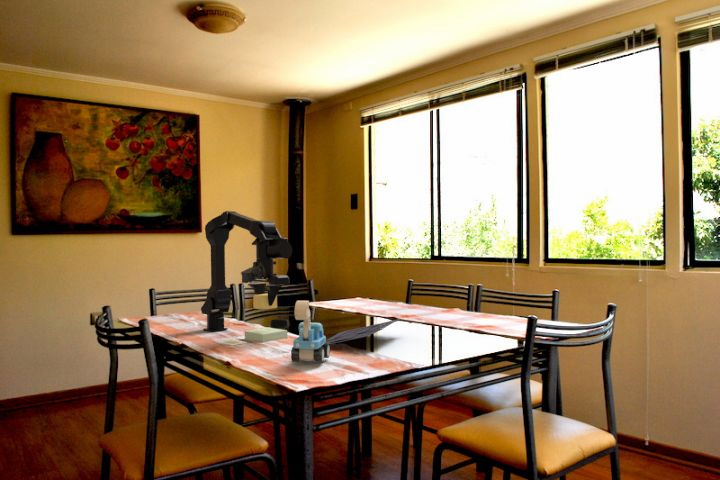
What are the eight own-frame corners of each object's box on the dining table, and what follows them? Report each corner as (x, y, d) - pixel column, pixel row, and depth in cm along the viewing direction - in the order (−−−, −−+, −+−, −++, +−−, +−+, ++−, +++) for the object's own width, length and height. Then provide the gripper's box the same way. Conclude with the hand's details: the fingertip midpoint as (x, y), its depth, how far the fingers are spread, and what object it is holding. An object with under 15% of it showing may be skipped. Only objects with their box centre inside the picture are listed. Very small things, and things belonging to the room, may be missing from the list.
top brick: (253, 308, 182) (253, 295, 182) (267, 306, 186) (267, 293, 186) (262, 309, 178) (262, 295, 178) (277, 307, 183) (276, 294, 183)
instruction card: (217, 342, 175) (217, 341, 175) (233, 340, 180) (233, 339, 180) (231, 345, 170) (231, 344, 170) (247, 342, 174) (247, 341, 174)
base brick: (244, 340, 182) (244, 331, 182) (268, 336, 189) (268, 327, 189) (263, 343, 175) (263, 334, 175) (287, 339, 183) (287, 330, 183)
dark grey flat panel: (303, 359, 167) (301, 347, 167) (341, 339, 195) (339, 329, 195) (375, 343, 159) (372, 331, 159) (404, 326, 187) (402, 315, 187)
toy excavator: (282, 369, 138) (281, 301, 138) (301, 355, 154) (300, 294, 154) (315, 370, 136) (314, 301, 136) (330, 356, 152) (330, 295, 152)
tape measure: (287, 328, 195) (287, 317, 196) (268, 330, 195) (268, 319, 196) (290, 329, 201) (289, 319, 202) (272, 330, 202) (271, 320, 202)
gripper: (228, 258, 183) (228, 305, 183) (262, 259, 170) (263, 309, 170) (255, 257, 191) (255, 302, 191) (290, 258, 178) (290, 306, 178)
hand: (265, 305), depth 182 cm, fingers closed on top brick, 5 cm apart
